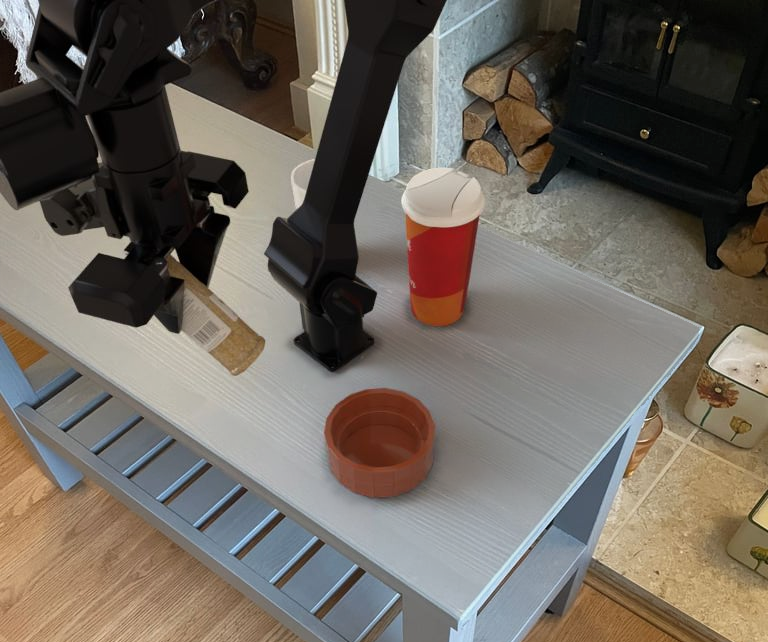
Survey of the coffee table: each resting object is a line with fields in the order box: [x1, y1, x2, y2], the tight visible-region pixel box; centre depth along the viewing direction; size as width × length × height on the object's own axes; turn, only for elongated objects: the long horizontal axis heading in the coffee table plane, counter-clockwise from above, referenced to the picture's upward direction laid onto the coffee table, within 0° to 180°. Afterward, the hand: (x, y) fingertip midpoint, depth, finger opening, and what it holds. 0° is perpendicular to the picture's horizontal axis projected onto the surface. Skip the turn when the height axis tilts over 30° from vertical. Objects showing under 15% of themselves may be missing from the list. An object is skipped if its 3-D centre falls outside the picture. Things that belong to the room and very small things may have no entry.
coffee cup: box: [400, 167, 486, 327], centre depth 84 cm, size 8×8×15 cm
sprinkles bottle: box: [166, 253, 266, 377], centre depth 71 cm, size 5×5×14 cm
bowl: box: [323, 387, 436, 498], centre depth 77 cm, size 10×10×4 cm
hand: (187, 314), depth 72 cm, fingers closed on sprinkles bottle, 4 cm apart
